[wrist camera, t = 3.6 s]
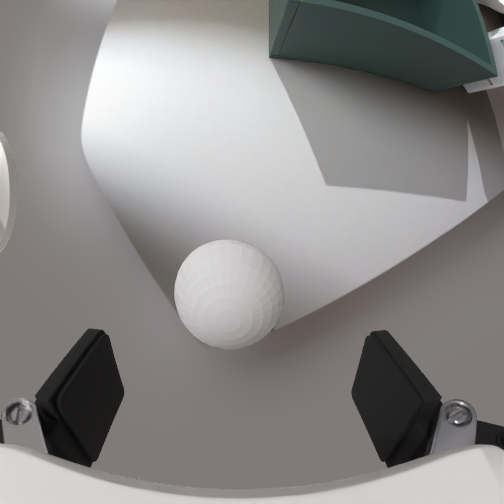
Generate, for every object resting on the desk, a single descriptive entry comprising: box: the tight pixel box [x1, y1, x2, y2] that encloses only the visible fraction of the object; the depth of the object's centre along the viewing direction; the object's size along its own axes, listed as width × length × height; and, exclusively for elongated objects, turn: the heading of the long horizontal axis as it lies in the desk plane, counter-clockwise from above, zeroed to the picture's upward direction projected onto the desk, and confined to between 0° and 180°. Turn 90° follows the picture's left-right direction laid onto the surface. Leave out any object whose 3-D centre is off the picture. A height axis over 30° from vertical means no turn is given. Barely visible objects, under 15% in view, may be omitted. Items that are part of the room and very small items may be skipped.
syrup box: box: [463, 27, 504, 93], centre depth 15 cm, size 6×6×14 cm
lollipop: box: [174, 240, 284, 349], centre depth 20 cm, size 6×6×15 cm
